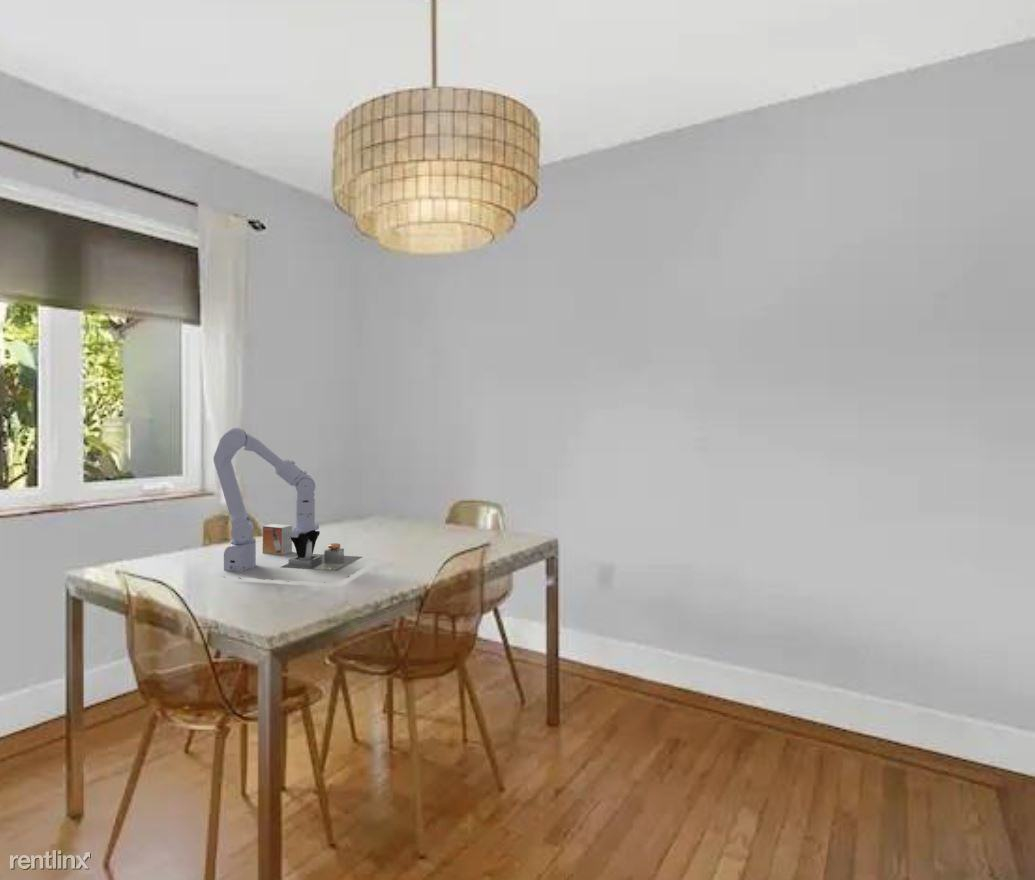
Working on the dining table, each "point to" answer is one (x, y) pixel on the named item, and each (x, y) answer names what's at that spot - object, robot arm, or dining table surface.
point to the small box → (277, 539)
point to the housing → (323, 561)
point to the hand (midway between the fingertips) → (305, 555)
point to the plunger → (334, 546)
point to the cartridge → (308, 551)
